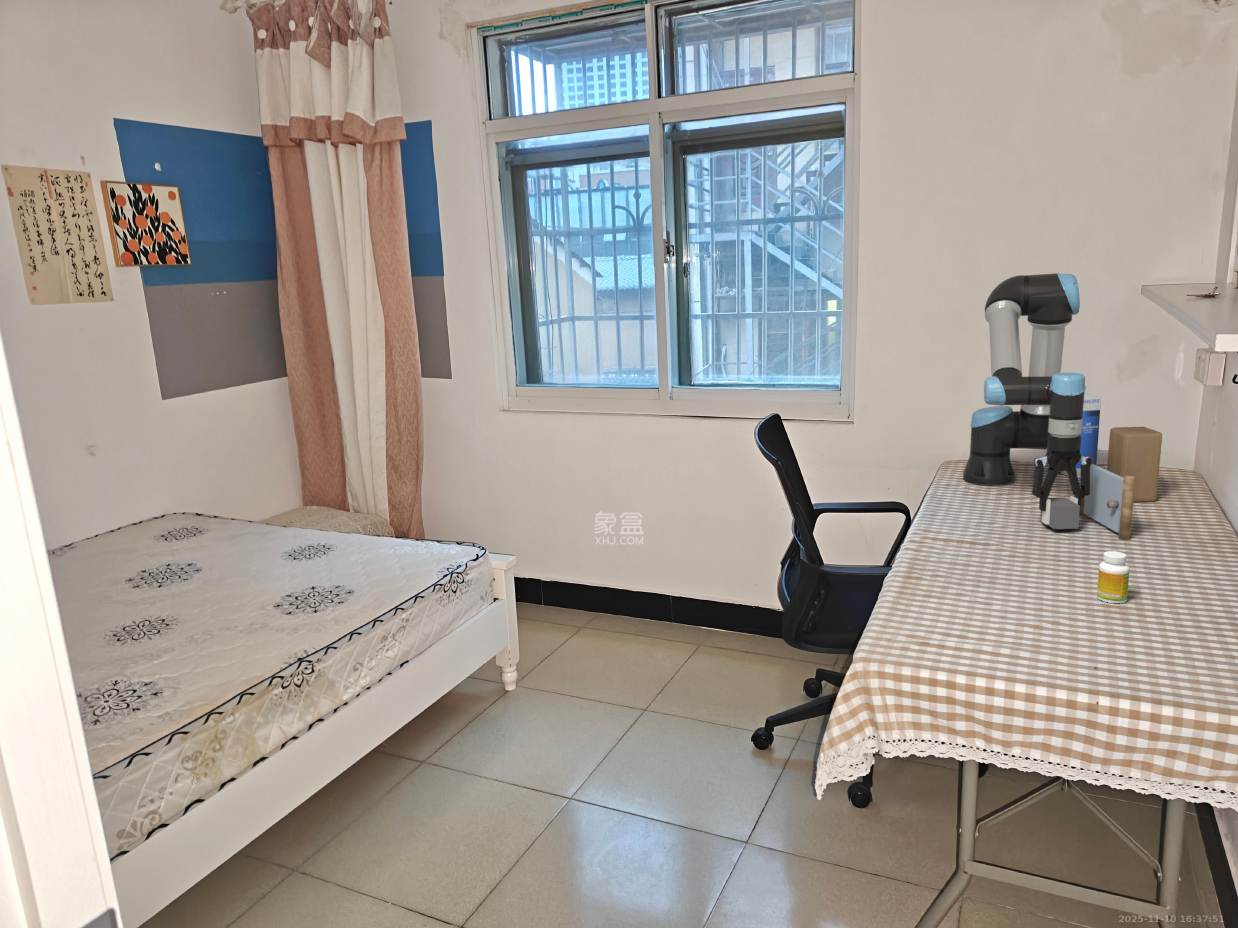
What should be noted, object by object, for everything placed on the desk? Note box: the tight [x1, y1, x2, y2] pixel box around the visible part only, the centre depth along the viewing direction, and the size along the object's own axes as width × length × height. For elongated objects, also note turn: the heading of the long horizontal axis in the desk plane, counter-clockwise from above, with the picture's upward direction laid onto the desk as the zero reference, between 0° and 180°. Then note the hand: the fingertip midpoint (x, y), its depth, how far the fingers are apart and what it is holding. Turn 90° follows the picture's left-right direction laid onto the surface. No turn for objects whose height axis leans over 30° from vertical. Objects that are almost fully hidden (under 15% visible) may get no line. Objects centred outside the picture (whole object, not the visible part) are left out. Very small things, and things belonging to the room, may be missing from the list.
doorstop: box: [1039, 497, 1080, 530], centre depth 215 cm, size 8×6×6 cm
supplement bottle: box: [1096, 550, 1130, 604], centre depth 170 cm, size 5×5×10 cm
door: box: [1084, 464, 1124, 533], centre depth 214 cm, size 17×4×14 cm, turn 177°
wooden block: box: [1106, 426, 1163, 503], centre depth 237 cm, size 10×10×20 cm
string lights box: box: [1059, 392, 1102, 479], centre depth 266 cm, size 13×8×26 cm, turn 1°
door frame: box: [1079, 457, 1135, 541], centre depth 214 cm, size 23×2×16 cm, turn 177°
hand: (1058, 522), depth 215 cm, fingers closed on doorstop, 6 cm apart
